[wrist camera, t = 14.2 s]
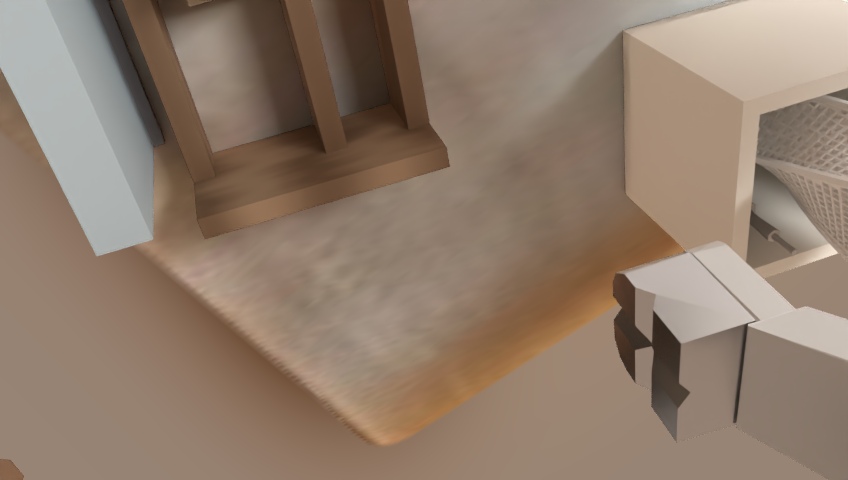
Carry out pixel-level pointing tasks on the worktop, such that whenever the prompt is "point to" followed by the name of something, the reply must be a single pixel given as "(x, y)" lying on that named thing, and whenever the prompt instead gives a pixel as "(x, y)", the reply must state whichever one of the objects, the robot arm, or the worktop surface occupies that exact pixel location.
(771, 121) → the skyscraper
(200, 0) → the offcut long
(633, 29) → the open white box
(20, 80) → the pale blue-grey board
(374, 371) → the worktop surface
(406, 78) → the rack
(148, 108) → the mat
